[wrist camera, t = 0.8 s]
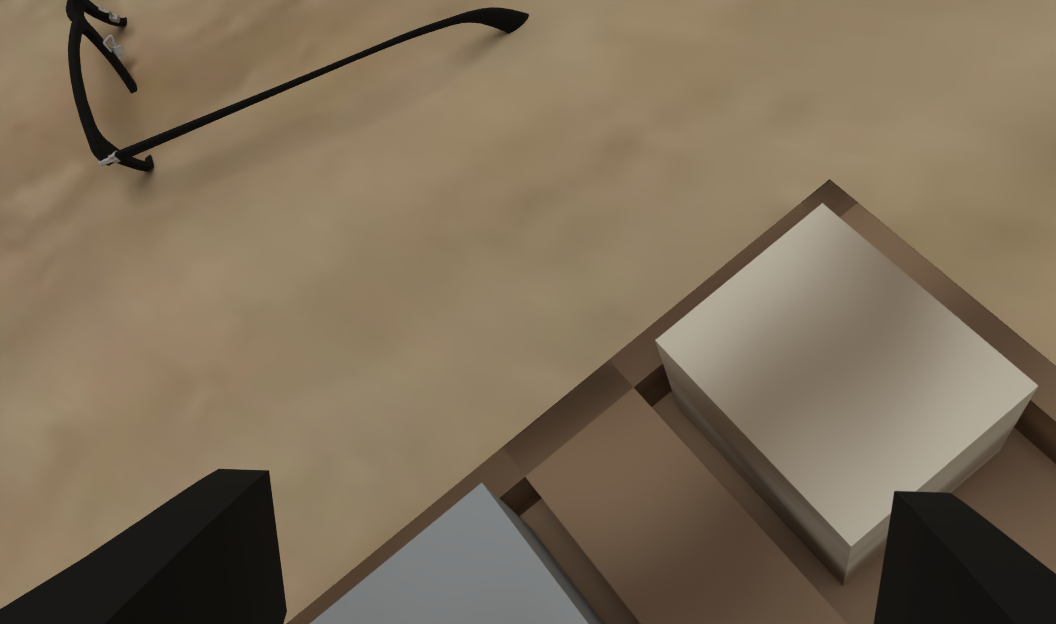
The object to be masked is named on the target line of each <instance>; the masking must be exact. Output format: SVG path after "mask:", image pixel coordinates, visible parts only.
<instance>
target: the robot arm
mask: <svg viewBox="0 0 1056 624" xmlns="http://www.w3.org/2000/svg"><path fill="white" fill-rule="evenodd" d="M286 612H287V609H286V601H285V593H284V586H283V578H282V570H281V562H280V554H279V546H278V538H277V530H276V522H275V515H274V507H273V499H272V491H271V483H270V475H269V471H266V470H236V469H218V470H216V471H214V472H213V473H211V474H209V475H207V476H206V477H204V478H202V479H201V480H199V481H198V482H196V483H195V484H193V485H191V486H190V487H188V488H187V489H185V490H184V491H182V492H181V493H179V494H178V495H176V496H175V497H173V498H172V499H170V500H169V501H167V502H166V503H165V504H163V505H162V506H160V507H159V508H157V509H156V510H154V511H153V512H151V513H150V514H148V515H147V516H145V517H144V518H143V519H141V520H140V521H138V522H137V523H135V524H134V525H132V526H131V527H129V528H128V529H126V530H125V531H123V532H122V533H120V534H119V535H117V536H116V537H114V538H113V539H111V540H110V541H108V542H107V543H105V544H104V545H102V546H101V547H99V548H98V549H96V550H95V551H93V552H92V553H90V554H89V555H87V556H86V557H84V558H83V559H81V560H80V561H78V562H76V563H75V564H73V565H71V566H70V567H68V568H67V569H65V570H63V571H62V572H60V573H58V574H57V575H55V576H54V577H52V578H50V579H49V580H47V581H45V582H44V583H42V584H41V585H39V586H37V587H36V588H34V589H32V590H31V591H29V592H28V593H26V594H24V595H23V596H21V597H19V598H18V599H16V600H15V601H13V602H11V603H10V604H8V605H6V606H5V607H3V608H1V609H0V624H283V623H284V619H285V616H286ZM874 624H1056V573H1054V572H1053V571H1052V570H1050V569H1049V568H1048V567H1047V566H1045V565H1044V564H1043V563H1041V562H1040V561H1039V560H1038V559H1036V558H1035V557H1034V556H1032V555H1031V554H1030V553H1029V552H1027V551H1026V550H1025V549H1024V548H1022V547H1021V546H1020V545H1018V544H1017V543H1016V542H1015V541H1013V540H1012V539H1011V538H1010V537H1008V536H1007V535H1006V534H1005V533H1003V532H1002V531H1001V530H999V529H998V528H997V527H996V526H994V525H993V524H992V523H991V522H989V521H988V520H987V519H985V518H984V517H983V516H982V515H980V514H979V513H978V512H976V511H975V510H974V509H972V508H971V507H970V506H968V505H967V504H966V503H964V502H963V501H961V500H960V499H959V498H957V497H956V496H954V495H953V494H951V493H945V492H914V491H894V496H893V502H892V509H891V515H890V522H889V528H888V534H887V541H886V547H885V554H884V560H883V567H882V573H881V579H880V586H879V592H878V599H877V605H876V611H875V618H874Z"/></svg>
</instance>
